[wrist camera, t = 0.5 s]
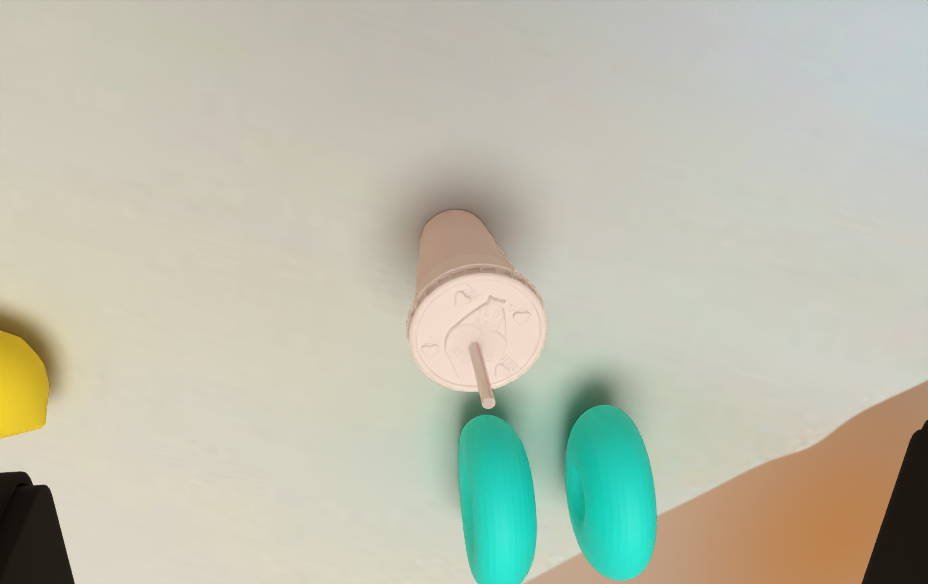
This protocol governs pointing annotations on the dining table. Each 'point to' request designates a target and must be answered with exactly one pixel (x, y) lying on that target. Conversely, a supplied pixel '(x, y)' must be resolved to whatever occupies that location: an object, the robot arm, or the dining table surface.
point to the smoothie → (472, 309)
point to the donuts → (587, 487)
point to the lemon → (21, 387)
